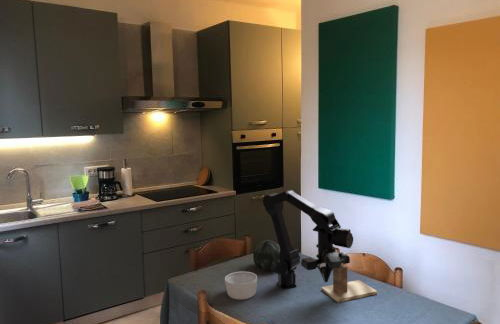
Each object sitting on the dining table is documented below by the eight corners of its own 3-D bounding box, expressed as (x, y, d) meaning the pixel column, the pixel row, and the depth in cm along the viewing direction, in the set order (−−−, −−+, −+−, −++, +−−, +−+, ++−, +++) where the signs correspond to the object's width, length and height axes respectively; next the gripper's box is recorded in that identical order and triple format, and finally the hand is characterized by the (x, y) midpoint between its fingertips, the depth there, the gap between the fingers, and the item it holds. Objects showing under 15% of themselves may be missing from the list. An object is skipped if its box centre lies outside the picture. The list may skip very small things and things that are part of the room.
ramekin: (219, 299, 159) (219, 282, 158) (232, 285, 171) (232, 269, 170) (251, 303, 154) (250, 286, 154) (262, 289, 167) (261, 273, 166)
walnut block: (338, 293, 157) (338, 268, 156) (333, 289, 161) (332, 265, 160) (347, 291, 159) (347, 267, 158) (341, 288, 162) (341, 263, 161)
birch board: (337, 302, 153) (337, 299, 153) (321, 290, 164) (321, 287, 164) (377, 294, 159) (377, 291, 159) (359, 282, 170) (359, 279, 170)
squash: (272, 248, 201) (257, 230, 193) (295, 256, 190) (280, 238, 182) (256, 272, 195) (241, 255, 187) (279, 281, 184) (264, 264, 176)
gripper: (314, 253, 145) (314, 294, 146) (358, 246, 151) (358, 285, 153) (300, 244, 155) (300, 283, 157) (341, 237, 161) (342, 275, 163)
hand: (325, 282), depth 157 cm, fingers closed
